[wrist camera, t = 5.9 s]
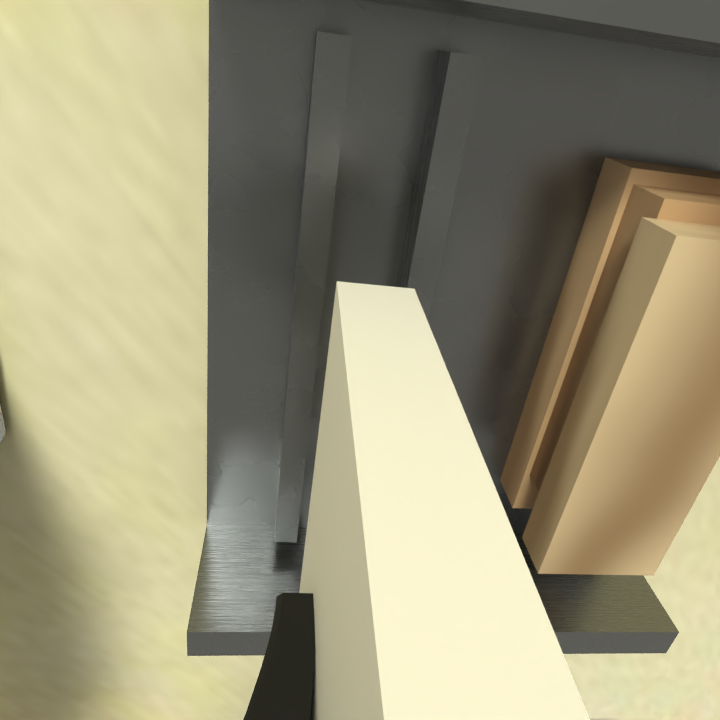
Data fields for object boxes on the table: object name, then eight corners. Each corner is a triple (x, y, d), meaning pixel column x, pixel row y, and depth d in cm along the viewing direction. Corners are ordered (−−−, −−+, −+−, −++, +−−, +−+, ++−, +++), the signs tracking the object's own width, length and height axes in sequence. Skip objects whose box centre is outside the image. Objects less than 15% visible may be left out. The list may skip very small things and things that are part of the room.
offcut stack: (495, 479, 22) (537, 575, 18) (598, 156, 16) (692, 195, 12) (600, 484, 23) (663, 577, 19) (737, 174, 17) (868, 216, 13)
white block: (290, 667, 17) (274, 1172, 9) (336, 281, 11) (394, 814, 3) (341, 667, 17) (366, 1162, 9) (414, 288, 11) (626, 808, 4)
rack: (210, 524, 23) (187, 655, 18) (216, -80, 14) (169, -143, 9) (596, 534, 26) (665, 653, 21) (828, 28, 16) (1058, 27, 11)
